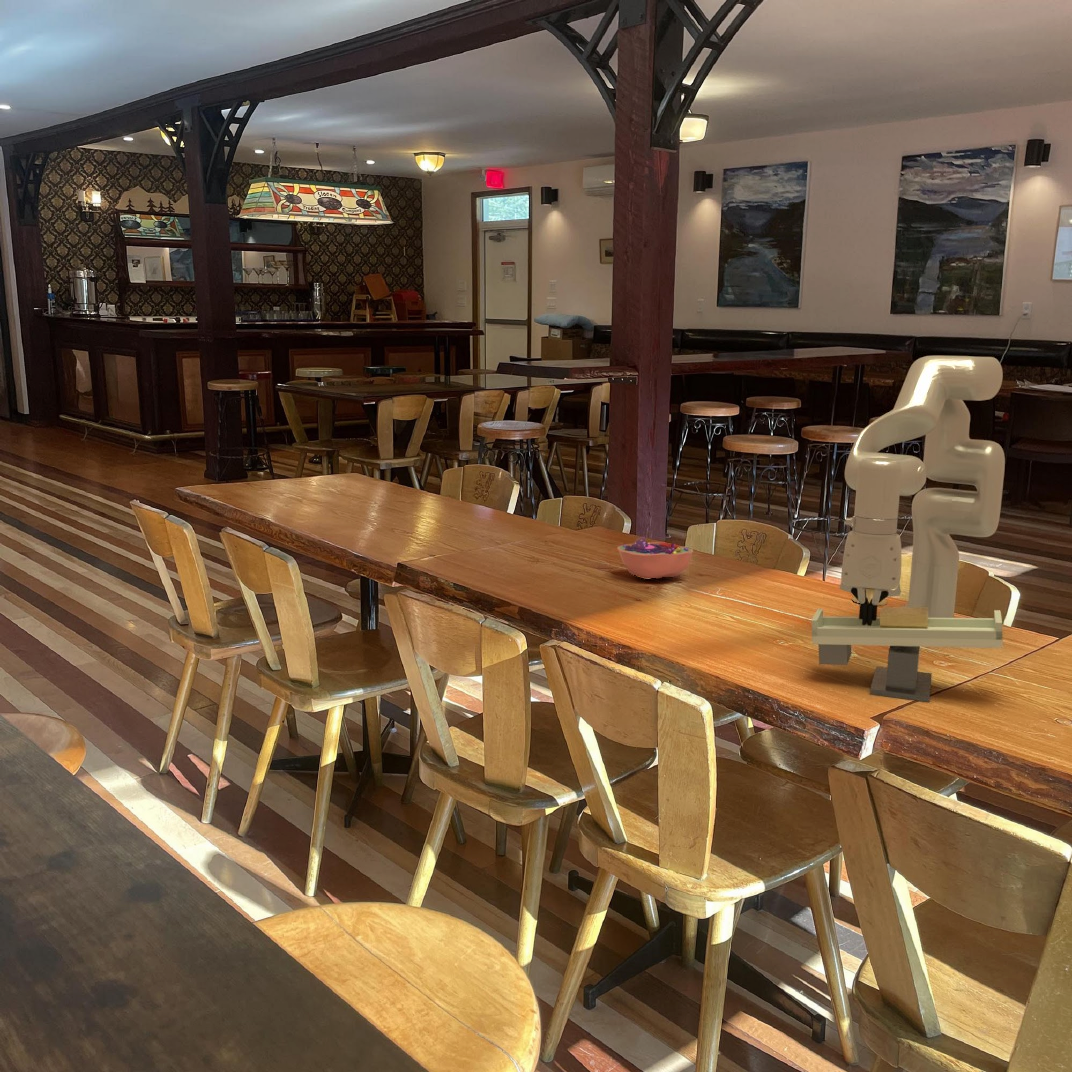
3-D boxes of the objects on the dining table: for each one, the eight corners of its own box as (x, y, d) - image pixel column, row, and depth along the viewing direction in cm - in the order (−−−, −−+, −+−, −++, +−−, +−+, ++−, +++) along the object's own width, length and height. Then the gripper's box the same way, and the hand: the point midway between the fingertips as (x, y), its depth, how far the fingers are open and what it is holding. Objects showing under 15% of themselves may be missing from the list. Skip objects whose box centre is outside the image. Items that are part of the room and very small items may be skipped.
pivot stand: (870, 694, 181) (873, 651, 180) (875, 671, 194) (879, 631, 192) (929, 702, 177) (933, 658, 176) (931, 678, 190) (935, 637, 189)
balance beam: (813, 664, 187) (811, 620, 185) (819, 651, 195) (817, 608, 194) (1003, 670, 174) (1002, 622, 173) (1001, 655, 182) (1000, 610, 181)
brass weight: (880, 634, 183) (879, 613, 182) (882, 627, 187) (881, 606, 187) (927, 635, 180) (926, 614, 179) (928, 628, 184) (927, 607, 184)
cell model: (696, 587, 259) (698, 544, 257) (618, 585, 259) (619, 542, 257) (687, 572, 275) (689, 531, 273) (614, 570, 276) (616, 530, 273)
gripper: (829, 526, 182) (822, 623, 185) (917, 533, 176) (908, 634, 180) (835, 519, 189) (828, 614, 192) (919, 526, 183) (911, 623, 186)
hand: (867, 623), depth 186 cm, fingers closed
